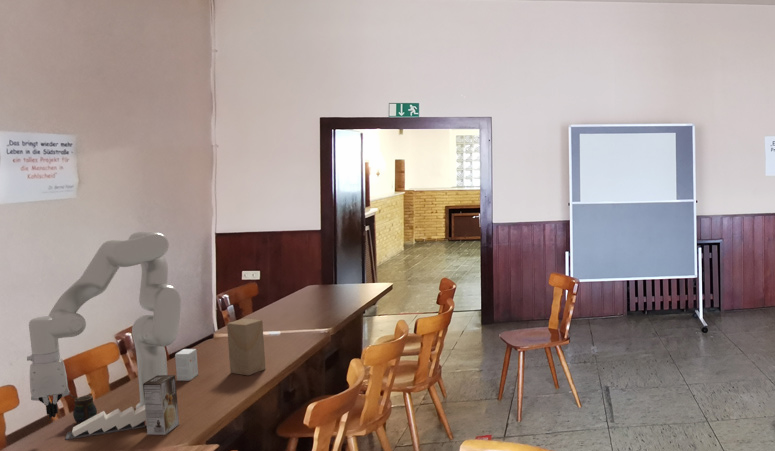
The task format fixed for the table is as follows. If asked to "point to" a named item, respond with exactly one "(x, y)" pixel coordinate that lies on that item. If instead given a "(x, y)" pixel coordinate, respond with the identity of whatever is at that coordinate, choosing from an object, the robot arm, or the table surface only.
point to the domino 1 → (89, 423)
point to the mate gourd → (84, 408)
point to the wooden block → (246, 346)
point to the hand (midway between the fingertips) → (52, 416)
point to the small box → (186, 364)
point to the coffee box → (161, 404)
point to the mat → (100, 431)
